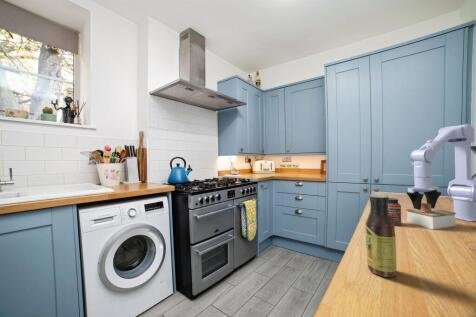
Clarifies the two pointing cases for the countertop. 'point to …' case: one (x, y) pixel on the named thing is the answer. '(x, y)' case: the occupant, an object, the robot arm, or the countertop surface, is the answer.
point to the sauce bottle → (380, 238)
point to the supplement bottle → (394, 211)
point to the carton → (431, 220)
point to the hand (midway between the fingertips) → (424, 208)
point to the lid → (430, 211)
